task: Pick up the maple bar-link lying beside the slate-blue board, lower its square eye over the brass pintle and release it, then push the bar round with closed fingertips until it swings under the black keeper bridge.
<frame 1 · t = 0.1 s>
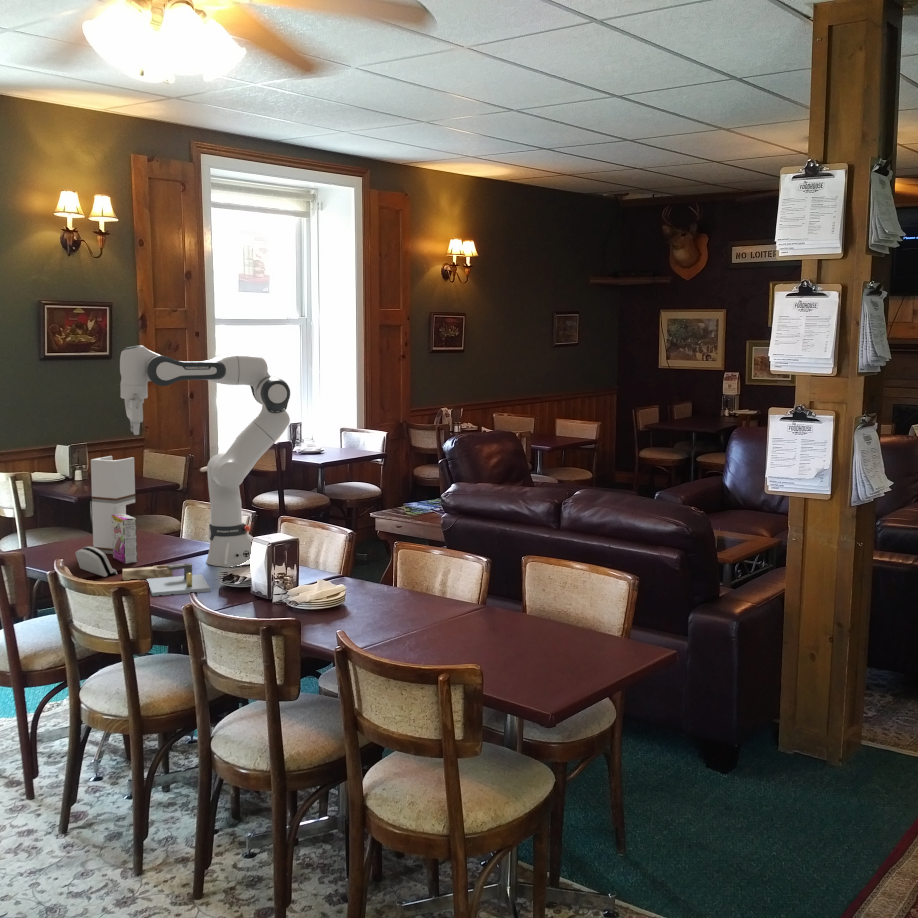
hand: (135, 433, 342), 48 cm above the table, fingers open, 8 cm apart
banded white column: (115, 550, 375), on the table
link: (134, 578, 335), on the table
pintle keeper: (189, 589, 322), resting on board
white black-striped rounded block: (95, 572, 343), on the table
candy bar box: (124, 561, 360), on the table
board: (177, 586, 326), on the table
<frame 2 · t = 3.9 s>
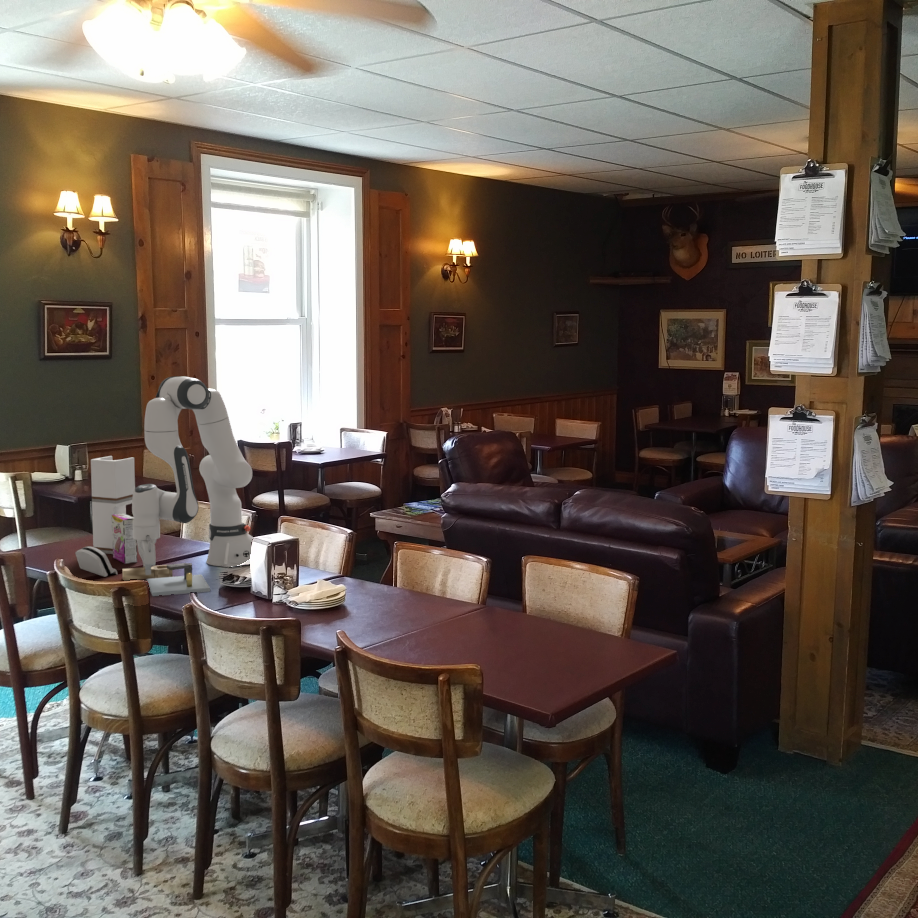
hand: (147, 572, 336), 2 cm above the table, fingers closed on link, 3 cm apart
link: (134, 578, 335), on the table, touching gripper
everything else where it was.
when the fingers open (3 cm above the table, at t = 8.7 s): link stays where it is, resting on board.
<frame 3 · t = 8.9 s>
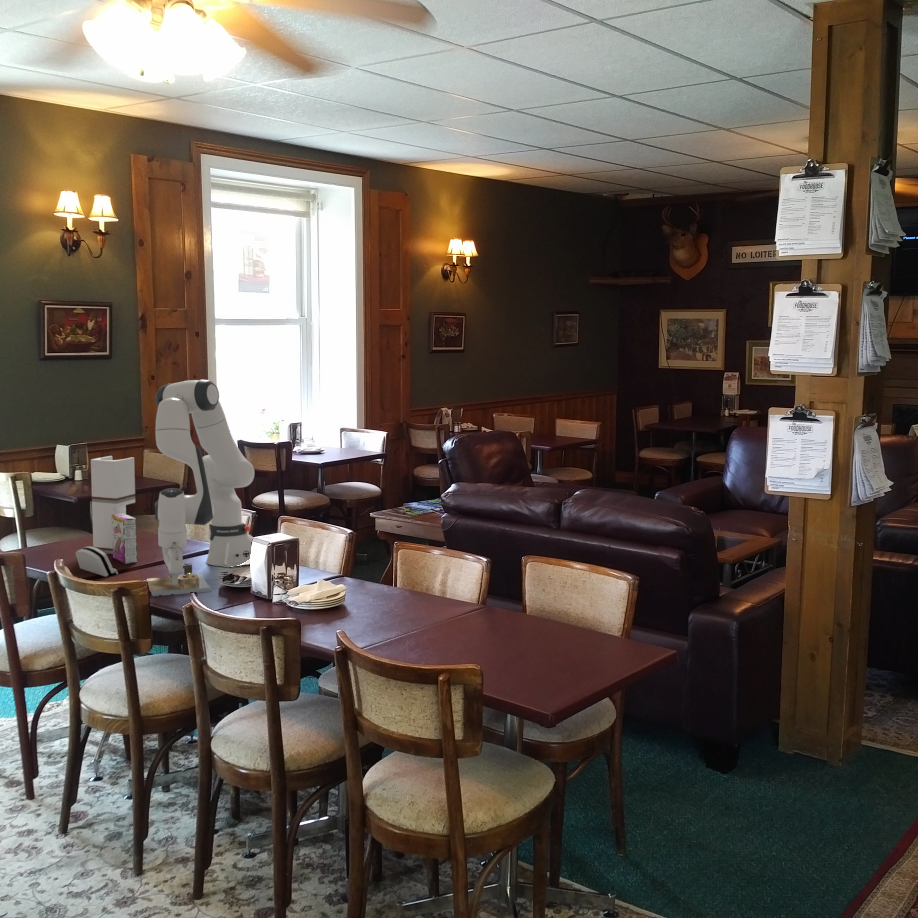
hand: (173, 581, 320), 3 cm above the table, fingers open, 5 cm apart
link: (158, 588, 318), point 1 cm above the table, touching board
everything else where it was.
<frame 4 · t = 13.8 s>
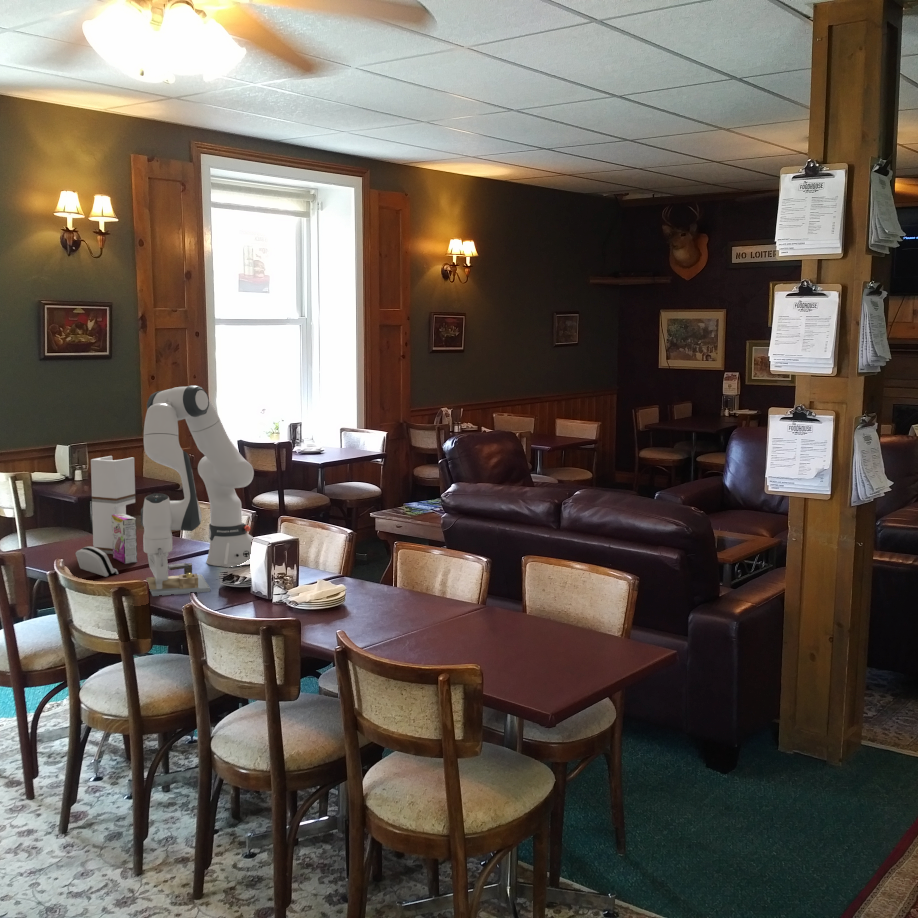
hand: (158, 588, 316), 2 cm above the table, fingers closed
link: (158, 587, 320), point 1 cm above the table, touching board, gripper
everything else where it was.
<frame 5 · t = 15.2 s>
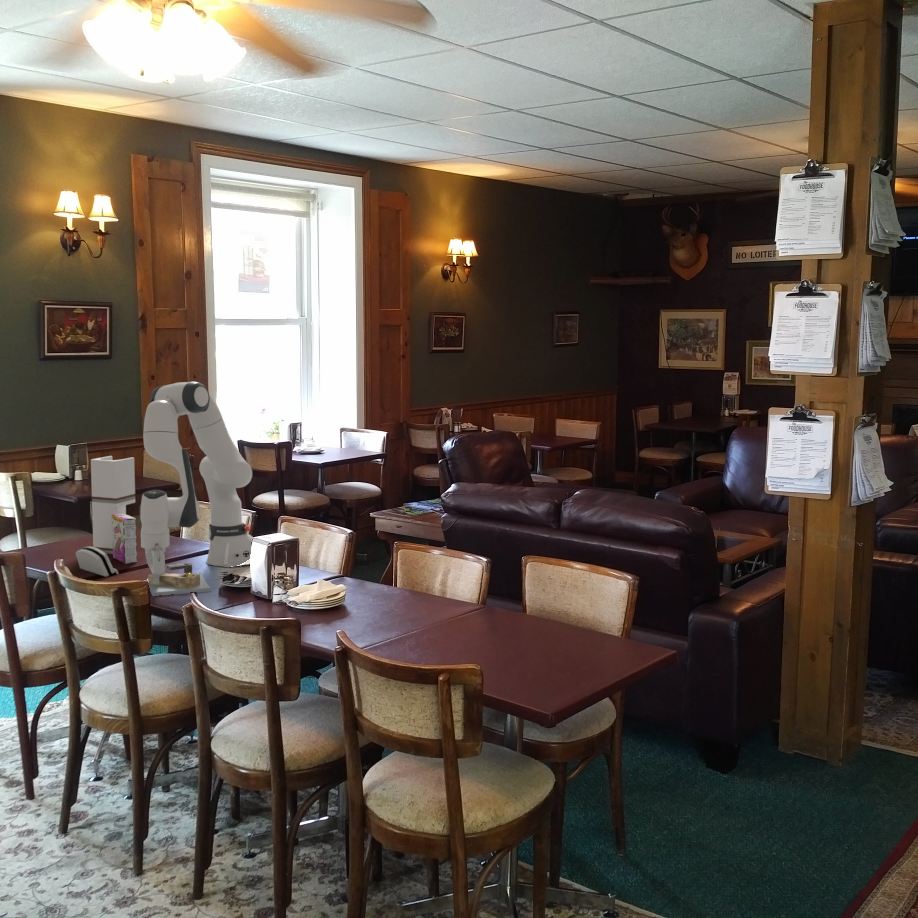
hand: (155, 583, 321), 2 cm above the table, fingers closed
link: (161, 583, 324), point 1 cm above the table, touching board, gripper, pintle keeper
everything else where it was.
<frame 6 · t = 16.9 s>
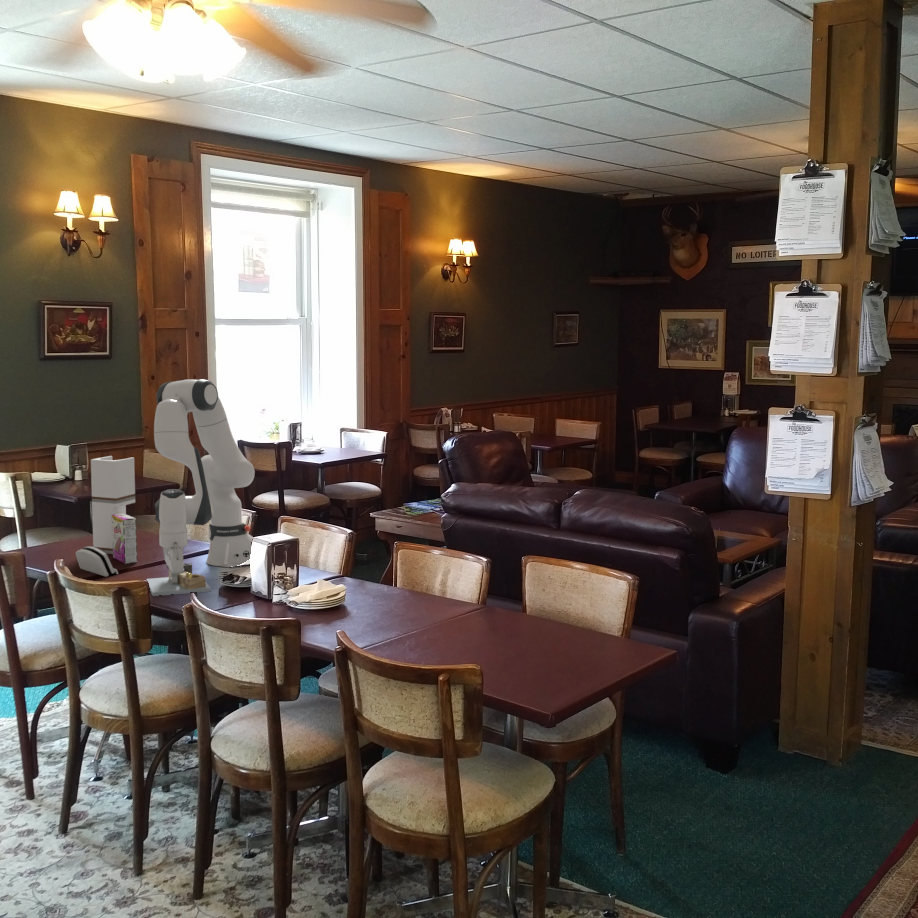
hand: (174, 581, 325), 2 cm above the table, fingers closed
link: (178, 580, 329), point 1 cm above the table, touching board, gripper
everything else where it was.
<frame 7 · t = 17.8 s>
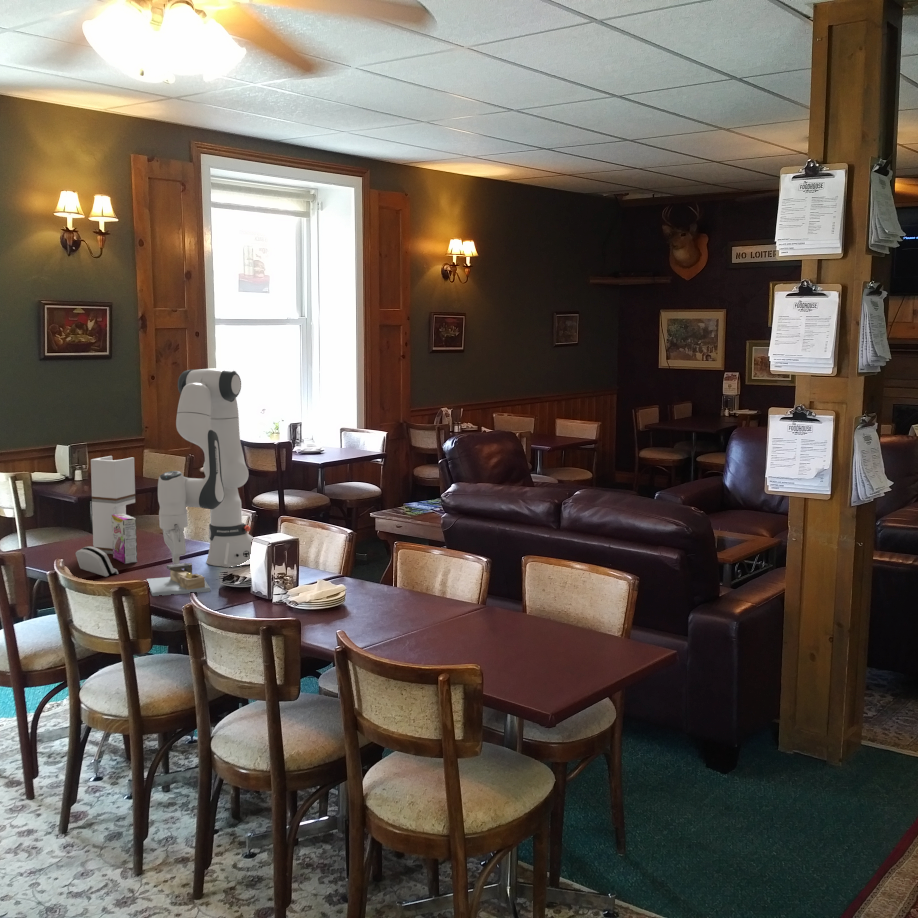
hand: (176, 562, 325), 8 cm above the table, fingers closed
link: (179, 580, 329), point 1 cm above the table, touching board
everything else where it was.
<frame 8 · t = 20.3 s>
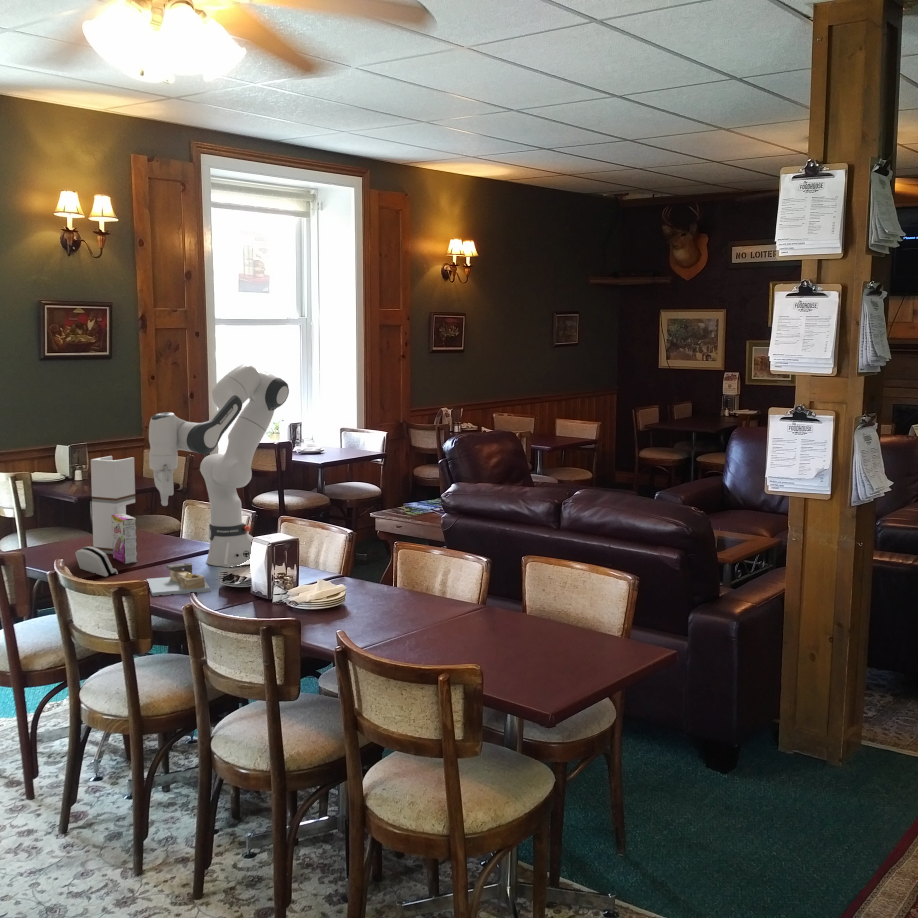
hand: (164, 505, 322), 27 cm above the table, fingers closed
nothing on the table moved.
at the end: link 1.1 cm from the target spot on the pintle keeper, point 1.2 cm above the pintle keeper's base; link tilted 0°; the gripper is holding nothing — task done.
